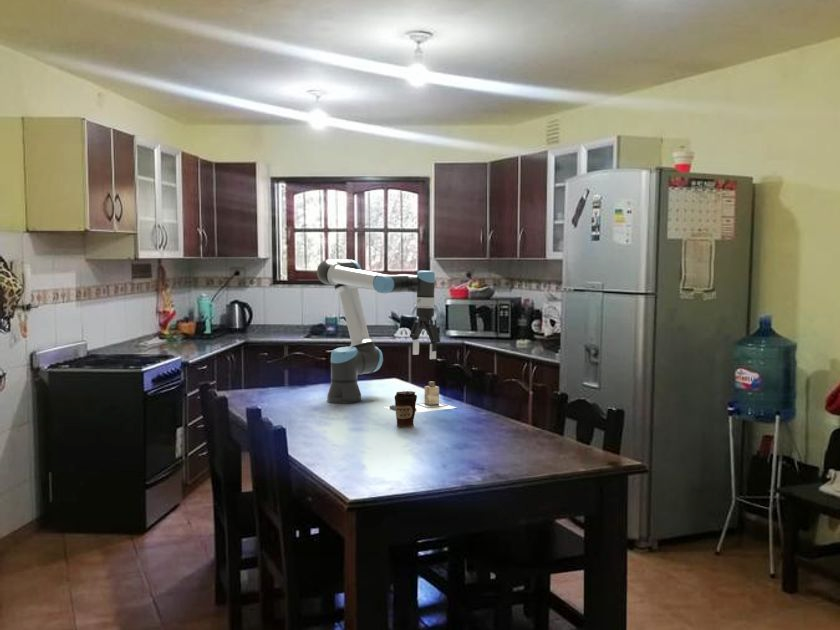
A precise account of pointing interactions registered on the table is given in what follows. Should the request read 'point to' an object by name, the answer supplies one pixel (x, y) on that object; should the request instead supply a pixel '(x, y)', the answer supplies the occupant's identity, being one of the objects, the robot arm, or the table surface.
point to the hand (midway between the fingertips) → (424, 356)
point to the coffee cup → (405, 408)
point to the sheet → (429, 407)
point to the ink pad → (394, 408)
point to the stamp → (431, 394)
